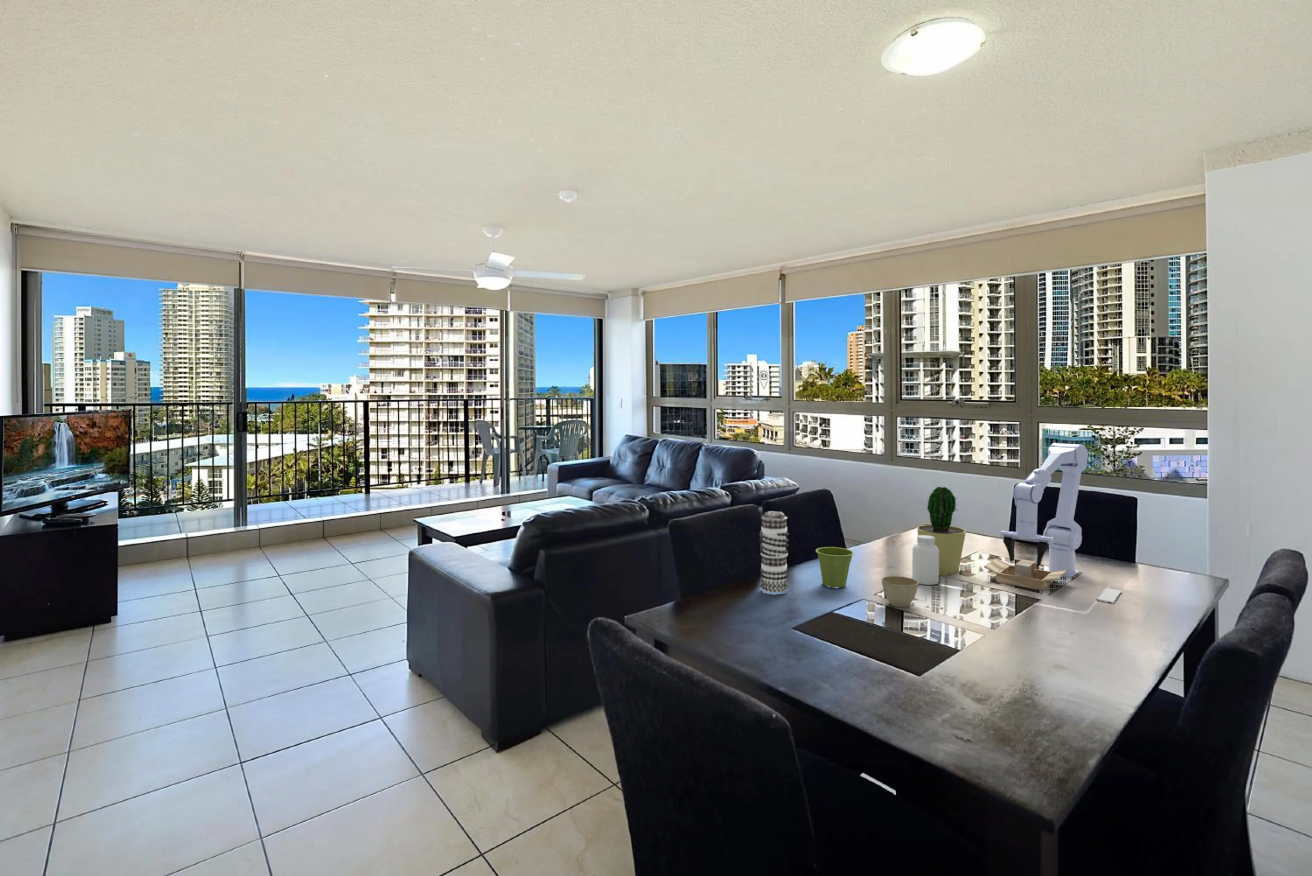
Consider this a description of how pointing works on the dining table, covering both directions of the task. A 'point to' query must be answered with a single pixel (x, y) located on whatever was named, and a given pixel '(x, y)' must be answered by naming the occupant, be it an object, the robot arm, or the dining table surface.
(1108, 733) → the dining table surface
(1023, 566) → the block
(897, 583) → the flower pot
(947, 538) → the potted cactus
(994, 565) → the carton
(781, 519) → the decorative candle
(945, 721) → the dining table surface
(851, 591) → the dining table surface
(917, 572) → the pill bottle
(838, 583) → the plant pot
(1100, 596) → the grey mat
